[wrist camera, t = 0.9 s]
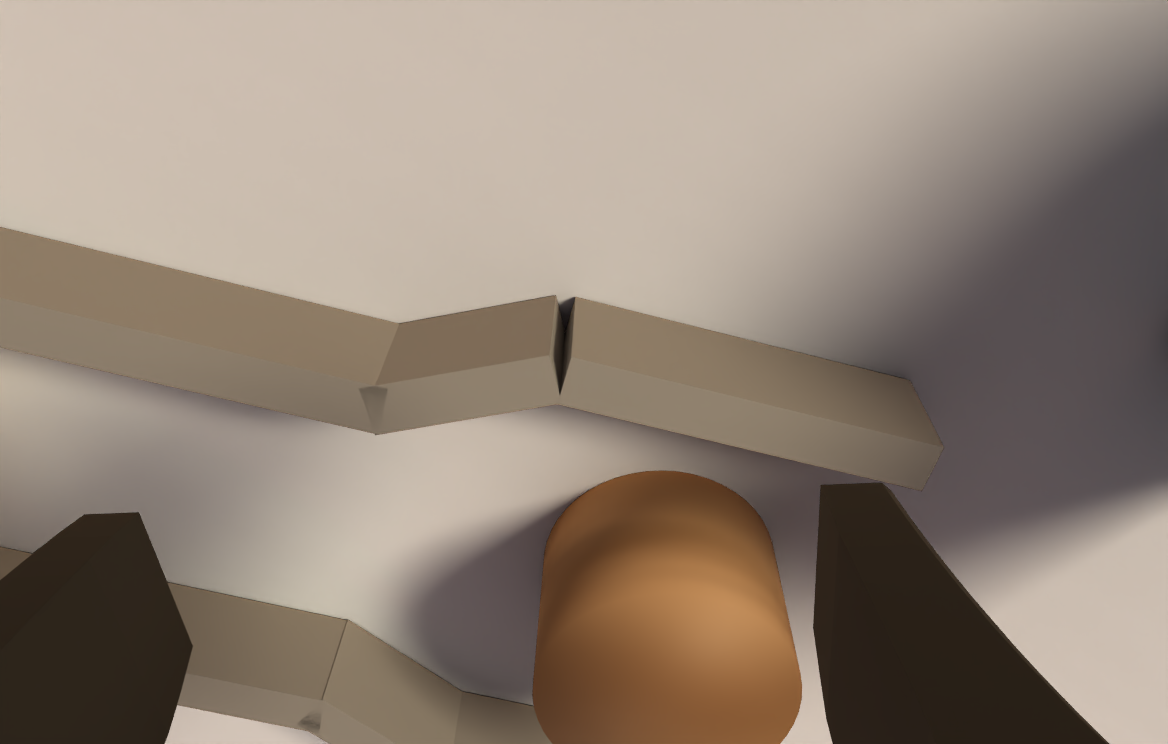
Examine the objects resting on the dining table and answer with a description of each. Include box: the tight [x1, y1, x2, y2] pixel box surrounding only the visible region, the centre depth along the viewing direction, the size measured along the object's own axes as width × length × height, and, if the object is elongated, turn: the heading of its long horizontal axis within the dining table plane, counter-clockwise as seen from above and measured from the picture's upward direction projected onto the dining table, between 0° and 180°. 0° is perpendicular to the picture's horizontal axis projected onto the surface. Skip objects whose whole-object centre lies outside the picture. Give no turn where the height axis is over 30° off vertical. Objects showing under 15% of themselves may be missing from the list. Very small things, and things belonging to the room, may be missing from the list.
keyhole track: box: [0, 227, 944, 744], centre depth 22 cm, size 21×12×2 cm, turn 75°
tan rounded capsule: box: [532, 471, 802, 744], centre depth 22 cm, size 5×5×4 cm
